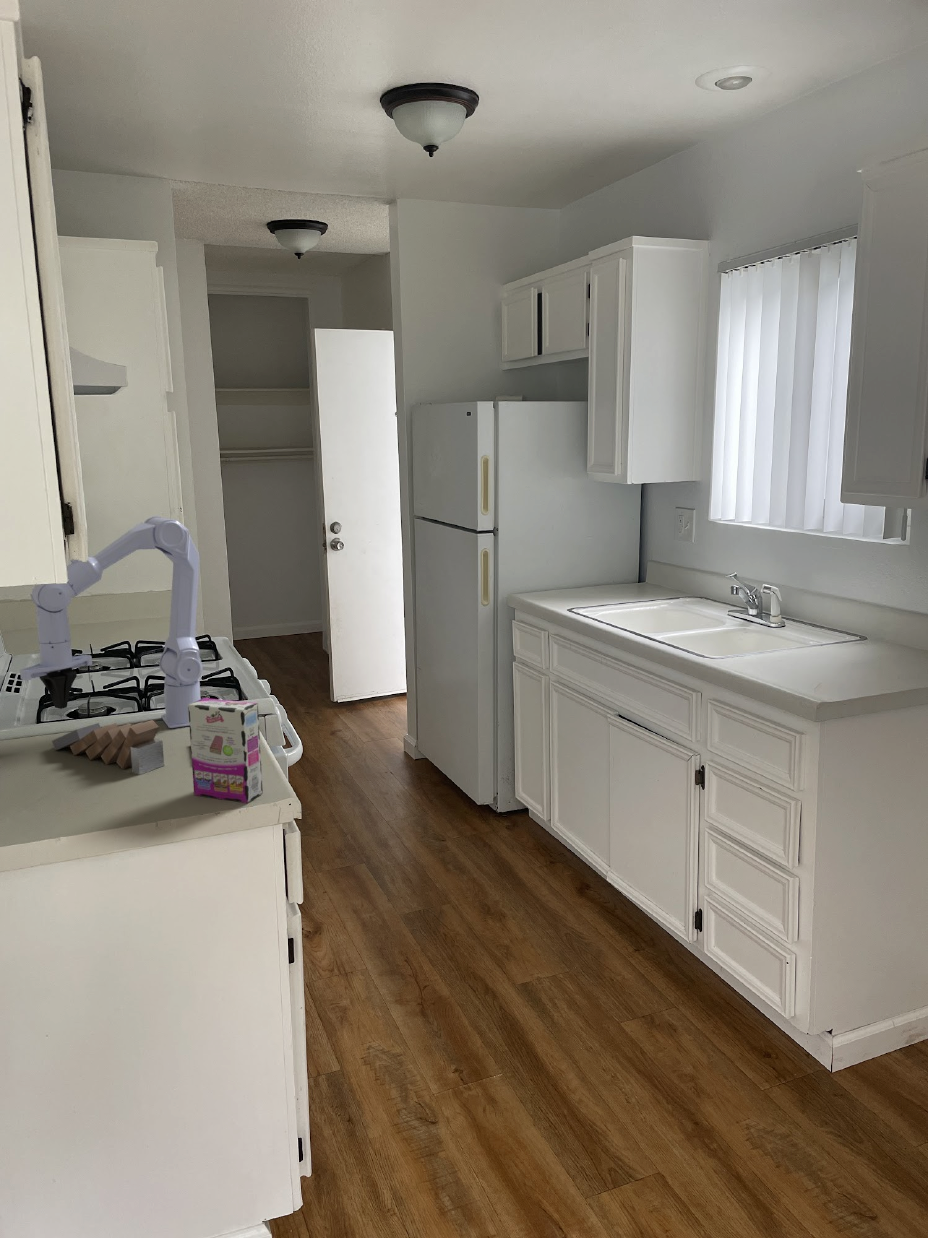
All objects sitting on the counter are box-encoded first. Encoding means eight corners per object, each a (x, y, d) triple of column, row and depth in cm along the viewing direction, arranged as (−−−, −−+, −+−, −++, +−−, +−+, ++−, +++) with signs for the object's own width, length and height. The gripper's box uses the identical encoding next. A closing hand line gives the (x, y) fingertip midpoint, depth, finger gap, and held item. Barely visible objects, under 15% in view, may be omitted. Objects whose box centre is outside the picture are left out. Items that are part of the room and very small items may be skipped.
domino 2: (70, 746, 180) (93, 730, 175) (92, 739, 185) (115, 723, 180) (74, 755, 180) (97, 739, 175) (96, 748, 184) (120, 732, 179)
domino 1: (51, 740, 183) (76, 729, 178) (74, 734, 187) (98, 722, 182) (55, 750, 183) (80, 739, 178) (77, 743, 187) (102, 732, 182)
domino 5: (116, 762, 173) (130, 727, 169) (138, 754, 178) (152, 719, 174) (122, 769, 173) (136, 734, 169) (144, 761, 177) (158, 726, 173)
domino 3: (85, 751, 178) (107, 730, 173) (107, 743, 182) (130, 723, 177) (90, 760, 178) (112, 739, 173) (112, 752, 182) (134, 732, 177)
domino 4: (100, 756, 176) (120, 729, 171) (122, 748, 180) (142, 722, 175) (106, 764, 175) (125, 737, 171) (128, 757, 179) (147, 730, 175)
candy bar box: (264, 793, 161) (259, 702, 158) (248, 804, 156) (243, 710, 153) (209, 785, 165) (204, 696, 161) (192, 795, 160) (186, 704, 157)
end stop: (132, 772, 171) (130, 747, 170) (157, 763, 176) (155, 738, 175) (139, 774, 170) (137, 748, 169) (164, 765, 174) (162, 740, 173)
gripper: (74, 631, 191) (79, 695, 193) (8, 645, 178) (15, 713, 181) (96, 635, 187) (101, 700, 190) (30, 649, 175) (37, 719, 178)
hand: (60, 707), depth 185 cm, fingers closed
